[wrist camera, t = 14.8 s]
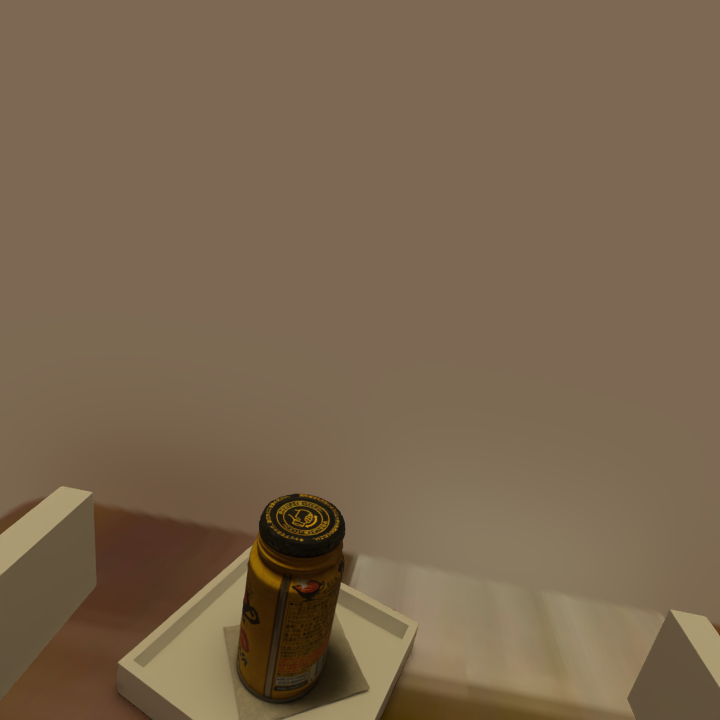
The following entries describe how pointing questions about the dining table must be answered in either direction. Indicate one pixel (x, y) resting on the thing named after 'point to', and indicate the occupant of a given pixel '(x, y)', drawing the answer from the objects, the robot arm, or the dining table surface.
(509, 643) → the dining table surface
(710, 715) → the robot arm
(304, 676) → the condiment
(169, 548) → the dining table surface
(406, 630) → the tray
